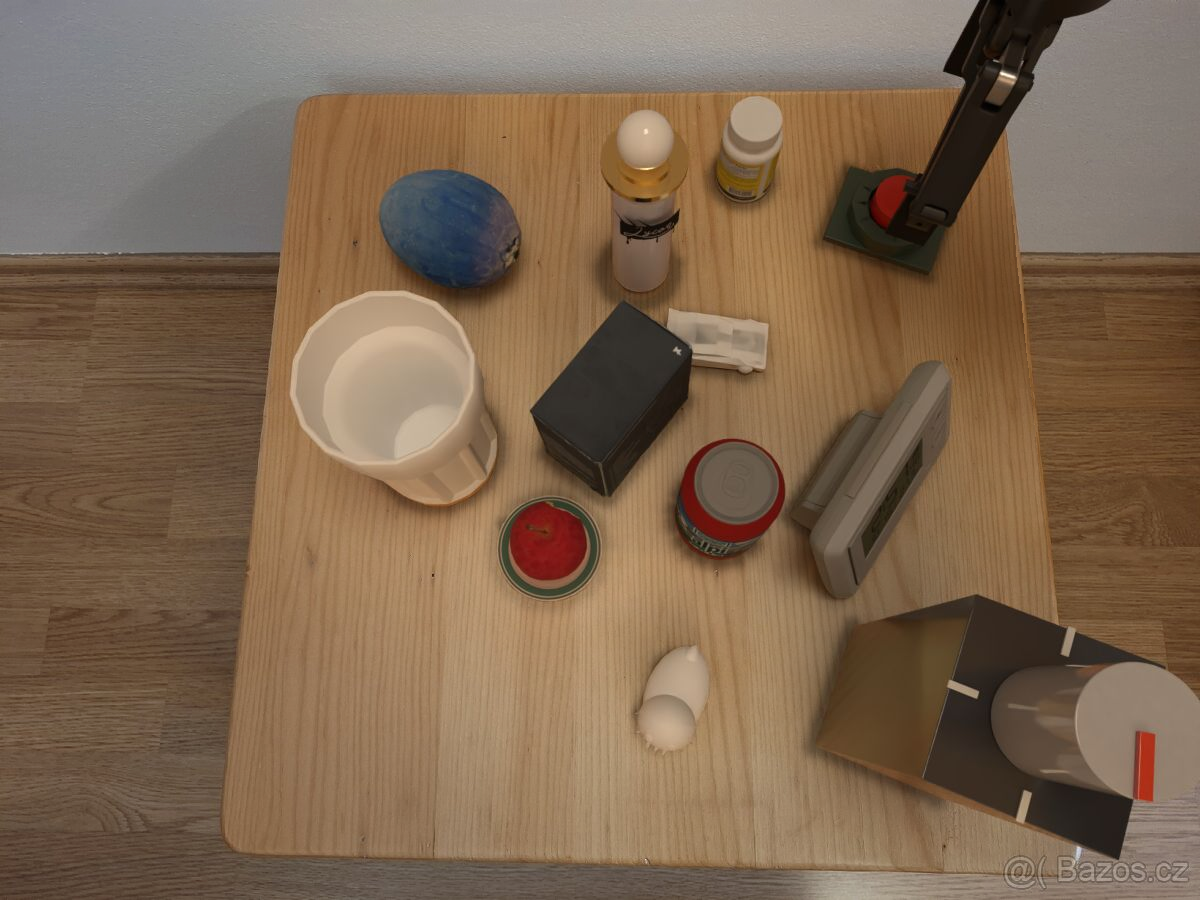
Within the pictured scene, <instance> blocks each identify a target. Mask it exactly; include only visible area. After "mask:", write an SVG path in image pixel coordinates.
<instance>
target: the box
mask: <svg viewBox="0 0 1200 900" xmlns="http://www.w3.org/2000/svg"><path fill="white" fill-rule="evenodd" d="M692 354H693V350H692V346H691V345H690V344H689V343H688V342H686V341H684V340H682V339H681V338H680V337H679V336H677V335H676V334H675V333H673V332H671V331H670V330H669V329H668V328H667V326H666V325H664V324H663V323H660V322H659V321H657V319H654V317H652V316H651V315H649V314H648V313H645V312H644V311H643V310H641V309H640V308H639V307H636V306H635V305H633V304H631V303H630V302H629V301H627V300H626V299H622V300H621V301H620V302H619V304H617V305H616V307H615V308H614V309H613V310H612V311H611V312H610V314H608V316H607V317H606V319H605V320H604V321H603V322H602V323H601V324H600V326H599V327H598V328H597V329H596V331H594V333H592V335H591V337H590V338H589V339H588V340H587V341H586V342H585V344H584V345H583V346H582V347H581V349H580V350H578V352H577V353H576V355H575V356H574V357H573V358H572V359H571V360H570V361H569V363H568V364H567V365H566V366H565V367H564V369H563V370H562V371H561V373H560V374H559V375H558V376H557V377H556V379H555V380H554V381H553V382H552V383H551V384H550V385H549V387H548V388H547V389H546V390H545V391H544V392H543V394H542V395H541V396H540V397H539V399H537V401H536V402H535V404H534V405H532V407H531V408H530V409H529V413H530V414H531V417H532V419H533V422H534V424H535V426H536V429H537V432H538V435H539V436H540V439H541V442H542V443H543V447H544V448H545V452H546V453H547V454H548V455H550V456H551V457H552V458H553V459H554V460H556V461H557V462H558V463H560V464H561V465H562V466H563V467H564V468H566V469H567V470H569V472H571V473H572V474H574V475H575V476H576V477H578V478H579V479H580V480H581V481H582V482H584V483H585V484H586V485H588V486H589V488H590V489H591V490H592V491H595V492H596V493H598V494H599V495H600V496H602V497H608V498H611V496H613V494H614V492H615V491H616V490H617V488H618V487H619V486H620V485H621V483H622V482H623V481H624V479H626V476H628V475H629V473H630V472H631V470H632V469H633V468H634V466H635V465H636V464H637V462H638V461H639V460H640V458H641V457H642V456H643V455H644V453H645V452H646V451H647V450H648V449H649V447H650V446H651V445H652V444H653V442H655V440H656V439H657V438H658V436H659V435H660V434H661V432H662V431H663V430H664V429H665V428H666V427H667V425H668V424H669V422H671V420H672V419H673V418H674V416H675V415H676V414H677V413H678V411H679V410H680V409H681V407H682V406H683V405H684V404H685V402H686V401H687V400H688V398H689V391H690V390H689V389H690V381H691V371H692V365H691V364H692Z"/></svg>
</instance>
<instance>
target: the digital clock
mask: <svg viewBox="0 0 1200 900" xmlns="http://www.w3.org/2000/svg"><path fill="white" fill-rule="evenodd" d="M952 393H953V377H952V375H951V373H950V371H949V369H948V367H947V366H946V364H945V362H942V361H939V360H926V361H923V362H920V363H918V364H916V365H915V366H914V368H912V370H911V372H910V373H909V374H908V376H907V378H906V379H905V381H904V382H903V384H902V386H901V387H900V389H899V391H898V392H897V394H896V395H895V397H894V398H893V400H892V401H891V403H890V405H889V406H888V408H887V410H886V411H885V412H876V411H874V410H873V411H872V410H869V409H867V408H861V409H860V410H858V411H857V412H855V414H854V415H853V417H852V418H850V420H849V421H848V422H847V423H846V425H845V426H844V428H843V429H842V431H841V432H840V434H839V435H838V437H837V439H836V440H835V442H834V443H833V445H832V446H831V448H830V449H829V451H828V453H827V455H826V456H825V458H824V459H823V461H822V462H821V464H820V466H819V467H818V469H817V470H816V472H815V473H814V475H813V476H812V478H811V479H810V481H809V482H808V485H807V486H806V487H805V489H804V491H803V492H802V494H801V495H800V497H799V498H798V500H797V501H796V503H795V504H794V506H793V508H792V509H791V511H790V513H789V517H790V518H791V519H793V520H794V521H796V522H797V523H798V524H800V525H802V526H803V527H805V528H806V529H808V530H809V531H810V534H809V544H810V548H811V551H812V554H813V557H814V560H815V563H816V566H817V569H818V572H819V575H820V579H821V581H822V584H823V585H824V588H825V589H826V591H827V592H828V593H829V594H830V595H831V596H833V597H834V598H835V599H842V598H848V597H852V596H854V595H855V594H856V593H857V591H858V590H859V589H860V587H861V585H862V583H863V582H864V580H865V578H866V577H867V575H868V574H869V572H870V570H871V569H872V567H873V566H874V564H875V562H876V560H877V559H878V557H879V555H880V554H881V553H882V551H883V549H884V548H885V546H886V545H887V543H888V541H889V539H890V538H891V536H892V534H893V533H894V531H895V529H896V528H897V526H898V524H899V523H900V521H901V520H902V518H903V516H904V514H905V513H906V512H907V510H908V508H909V506H910V505H911V503H912V501H913V500H914V498H915V496H916V495H917V493H918V492H919V490H920V488H921V487H922V486H923V483H924V482H925V480H926V479H927V477H928V475H929V473H930V472H931V470H932V468H933V467H934V465H935V463H936V462H937V460H938V459H939V457H940V455H941V454H942V452H943V450H944V449H945V447H946V445H947V444H948V441H949V438H950V433H951V416H952V395H953V394H952Z"/></svg>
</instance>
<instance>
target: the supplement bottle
mask: <svg viewBox="0 0 1200 900" xmlns="http://www.w3.org/2000/svg"><path fill="white" fill-rule="evenodd" d="M783 121H784V119H783V113H782V111H781V109H780V107H779V105H778V104H777V103H775V101H774V100H772V99H770V98H768V97H766V96H759V95H751V96H747V97H744V98H743V99H742V98H741V100H739V101H738V102H737V103H735V105H733V108H732V109H731V112H730V114H729V119H728V121H727V122H726V123H725V125H724V127H723V130H722V134H721V139H720V146H719V151H718V159H717V164H716V165H717V166H716V171H715V182H716V185H717V187H718V189H719V191H720V192H721V193H722V194H723V195H724V196H725V197H726V198H728V199H729V200H731V201H734V202H736V203H737V202H738V203H751V202H755V201H757V200H759V199H760V198H762V197H763V196H765V195H766V193H768V191H769V190H770V188H771V186H772V182H773V179H774V176H775V173H776V169H777V165H778V161H779V158H780V154H781V150H782V146H783V142H784V133H783V129H782V127H783Z"/></svg>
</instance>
